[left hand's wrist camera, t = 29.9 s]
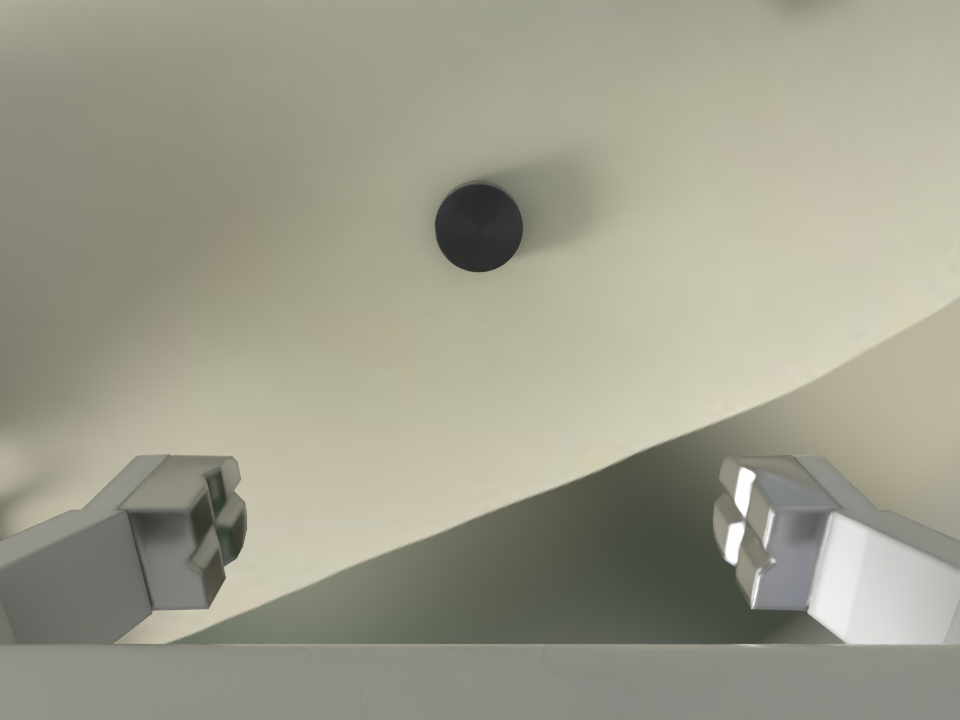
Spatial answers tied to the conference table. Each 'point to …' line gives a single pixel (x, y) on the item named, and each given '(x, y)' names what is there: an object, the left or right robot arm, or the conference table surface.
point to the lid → (478, 226)
